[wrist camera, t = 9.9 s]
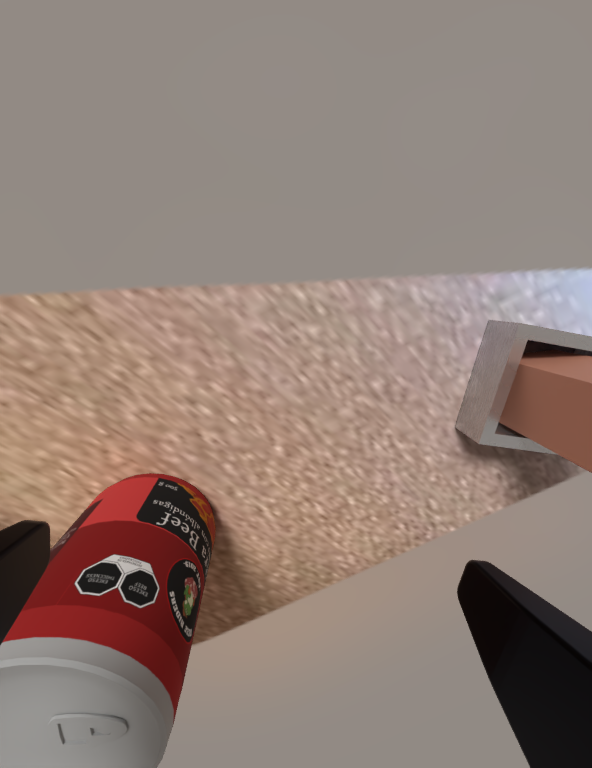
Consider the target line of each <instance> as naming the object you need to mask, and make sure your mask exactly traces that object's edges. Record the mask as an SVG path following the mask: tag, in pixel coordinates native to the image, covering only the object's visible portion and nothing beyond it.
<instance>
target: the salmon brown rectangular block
mask: <svg viewBox="0 0 592 768" xmlns="http://www.w3.org/2000/svg"><path fill="white" fill-rule="evenodd" d="M499 422H500V423H501V424H503V425H505V426H507V427H509V428H511V429H512V430H514V431H516V432H518V433H520V434H522V435H523V436H525V437H527V438H529V439H531V440H533V441H534V442H536V443H538V444H540V445H542V446H544V447H545V448H547V449H549V450H551V451H553V452H555V453H556V454H558V455H560V456H562V457H564V458H566V459H567V460H569V461H571V462H573V463H575V464H577V465H578V466H580V467H582V468H584V469H586V470H588V471H589V472H591V473H592V357H591V356H586V355H580V354H575V353H570V352H564V351H559V350H547V351H538V352H530V353H523V355H522V358H521V360H520V363H519V366H518V369H517V372H516V375H515V377H514V380H513V383H512V386H511V389H510V392H509V394H508V397H507V400H506V403H505V406H504V409H503V411H502V414H501V417H500V420H499Z"/></svg>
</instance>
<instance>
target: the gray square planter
mask: <svg viewBox="0 0 592 768" xmlns="http://www.w3.org/2000/svg"><path fill="white" fill-rule="evenodd" d="M528 340H530V341H535V342H541V343H546V344H552V345H557V346H563V347H568V348H574V349H575V351H574V353H575V354H580V355H586V356H591V357H592V337H591V336H585V335H580V334H575V333H569V332H564V331H559V330H554V329H548V328H543V327H538V326H532V325H527V324H522V323H514V322H504V321H495V320H489V321H488V324H487V328H486V331H485V334H484V337H483V340H482V343H481V346H480V350H479V353H478V356H477V359H476V362H475V365H474V368H473V372H472V375H471V378H470V381H469V384H468V387H467V390H466V394H465V397H464V400H463V403H462V406H461V409H460V412H459V416H458V419H457V422H456V425H455V428H457V429H458V430H460V431H461V432H462V433H464V434H465V435H467V436H468V437H469V438H471V439H472V440H474V441H475V442H477V443H478V444H482V445H490V446H497V447H504V448H512V449H519V450H527V451H534V452H541V453H549V454H556V453H555V452H553V451H551V450H549V449H547V448H545V447H544V446H542V445H540V444H538V443H536V442H534V441H533V440H531V439H529V438H527V437H525V436H523V435H522V434H520V433H518V432H516V431H514V430H512V429H511V428H509V427H507V426H505V425H503V424H501V423H499V420H500V417H501V414H502V411H503V409H504V406H505V403H506V400H507V397H508V394H509V392H510V389H511V386H512V383H513V380H514V377H515V375H516V372H517V369H518V366H519V363H520V360H521V358H522V355H523V352H524V349H525V346H526V343H527V341H528ZM556 455H558V454H556Z"/></svg>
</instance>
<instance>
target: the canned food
mask: <svg viewBox="0 0 592 768" xmlns="http://www.w3.org/2000/svg"><path fill="white" fill-rule="evenodd" d="M215 530H216V527H215V522H214V517H213V512H212V509H211V507H210V505H209V502H208V501H207V500H206V498H205V497H204V496H203V494H202V493H201V492H200V491H199V490H197V489H196V488H195V487H194V486H192V485H191V484H189V483H187V482H186V481H184V480H181V479H179V478H176V477H173V476H169V475H164V474H151V473H150V474H141V475H136V476H132V477H129V478H126V479H124V480H122V481H120V482H118V483H116V484H114V485H112V486H110V487H108V488H107V489H106V490H104V491H103V492H102V493H100V494H99V495H98V496H97V497H96V498H95V500H94V501H93V502H92V503H91V504H90V505H89V506H88V508H87V509H86V510H85V511H84V512H83V513H82V514H81V516H80V517H79V518H78V519H77V520H76V521H75V522H74V524H73V525H72V526H71V527H70V528H69V529H68V531H67V532H66V533H65V534H64V535H63V536H62V537H61V539H60V540H59V541H58V542H57V543H56V544H55V545H54V547H53V548H52V549H51V550H50V560H49V563H48V566H47V568H46V570H45V572H44V573H43V575H42V577H41V579H40V580H39V582H38V584H37V585H36V587H35V589H34V590H33V592H32V594H31V595H30V597H29V599H28V600H27V602H26V604H25V605H24V607H23V609H22V610H21V612H20V614H19V615H18V617H17V619H16V620H15V622H14V624H13V625H12V627H11V629H10V630H9V632H8V634H7V635H6V637H5V639H4V640H3V642H2V644H1V645H0V768H157V766H158V765H159V763H160V761H161V760H162V758H163V755H164V752H165V749H166V746H167V742H168V739H169V736H170V733H171V730H172V727H173V724H174V719H175V715H176V710H177V706H178V702H179V697H180V694H181V691H182V686H183V682H184V677H185V672H186V668H187V663H188V659H189V654H190V650H191V645H192V641H193V636H194V631H195V627H196V622H197V618H198V613H199V609H200V604H201V599H202V595H203V590H204V586H205V581H206V577H207V572H208V567H209V563H210V558H211V554H212V549H213V545H214V540H215Z"/></svg>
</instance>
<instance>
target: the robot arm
mask: <svg viewBox="0 0 592 768" xmlns="http://www.w3.org/2000/svg"><path fill="white" fill-rule="evenodd" d="M49 560H50V527H49V524H48V523H46V522H44V521H33V520H24V521H21V522H18V523H16V524H14V525H12V526H10V527H7V528H5V529H3V530H1V531H0V645H1V644H2V642H3V640H4V639H5V637H6V635H7V634H8V632H9V630H10V629H11V627H12V625H13V624H14V622H15V620H16V619H17V617H18V615H19V614H20V612H21V610H22V609H23V607H24V605H25V604H26V602H27V600H28V599H29V597H30V595H31V594H32V592H33V590H34V589H35V587H36V585H37V584H38V582H39V580H40V579H41V577H42V575H43V573H44V572H45V570H46V568H47V566H48V563H49ZM457 594H458V599H459V602H460V605H461V608H462V610H463V613H464V616H465V618H466V621H467V623H468V626H469V629H470V631H471V634H472V636H473V639H474V642H475V644H476V647H477V650H478V652H479V655H480V657H481V660H482V662H483V665H484V667H485V670H486V673H487V675H488V678H489V680H490V682H491V684H492V687H493V689H494V691H495V693H496V695H497V698H498V700H499V702H500V704H501V706H502V708H503V710H504V713H505V715H506V717H507V719H508V721H509V723H510V725H511V728H512V730H513V732H514V734H515V736H516V738H517V740H518V742H519V745H520V747H521V749H522V751H523V753H524V755H525V757H526V759H527V762H528V764H529V765H530V768H592V632H591V631H589V630H588V629H587V628H585V627H584V626H582V625H581V624H579V623H578V622H576V621H575V620H574V619H572V618H571V617H569V616H568V615H566V614H564V613H563V612H562V611H560V610H559V609H557V608H556V607H554V606H553V605H551V604H550V603H548V602H547V601H545V600H544V599H542V598H541V597H539V596H538V595H537V594H535V593H533V592H532V591H530V590H529V589H528V588H526V587H525V586H523V585H522V584H520V583H519V582H517V581H516V580H514V579H513V578H512V577H510V576H509V575H507V574H505V573H504V572H503V571H501V570H500V569H498V568H497V567H495V566H494V565H492V564H491V563H489V562H486V561H478V560H470V561H469V562H468V563H467V564H466V566H465V569H464V572H463V574H462V577H461V580H460V583H459V585H458V591H457Z"/></svg>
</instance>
